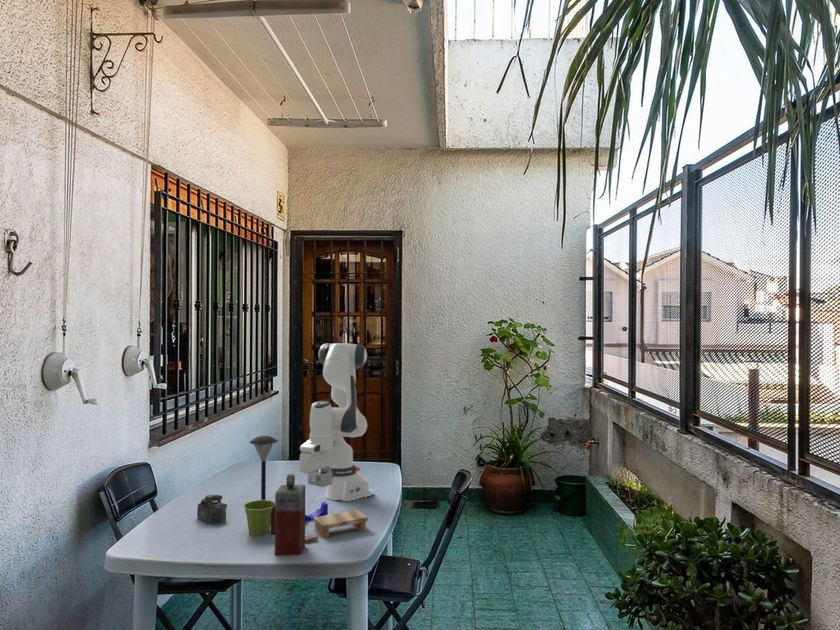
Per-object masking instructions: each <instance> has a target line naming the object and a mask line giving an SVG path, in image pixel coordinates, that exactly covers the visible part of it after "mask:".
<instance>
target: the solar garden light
mask: <svg viewBox="0 0 840 630" xmlns="http://www.w3.org/2000/svg"><path fill="white" fill-rule="evenodd" d="M278 442H279V440H278V439H276V438H274V437H273V436H270V435H261V436H256V437H255V438H252V439H251V440H249V442H248V443H249V444H251V445H254V448H255V450H256V452H257V455H258V457H259V459H260V460H261V474H260V475H261V476H260V477H261V479H260V482H261V484H260V485H261V489H260V491H261V492H260V493H261V494H260V495H261V496H260V498H261V499H260V500H266V491H267V490H266V488H267V487H266V485H267V483H266V479H267V477H266V475H267V473H266V469H267V468H266V467H267V465H266V462H267V458H268V456H269V454H270V451H271V449H272V447H273V445H274V444H275V443H278Z"/></svg>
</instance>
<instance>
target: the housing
mask: <svg viewBox="0 0 840 630" xmlns="http://www.w3.org/2000/svg"><path fill="white" fill-rule="evenodd" d="M315 474H316V476H317V477H318V481H317V482H313V481H312V476H311V474H310V473H307V484H308V485H312V486H316V487H321V488H325V487H327V486H328V485H331V484H332V471H328V470H327V469H326V468H322V469H319V470H316V473H315Z"/></svg>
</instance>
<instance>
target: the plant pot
mask: <svg viewBox="0 0 840 630" xmlns="http://www.w3.org/2000/svg"><path fill="white" fill-rule="evenodd" d="M274 504H275V501H274V500H273V501H272V500H267V499H265V500H261V499H258V500H252V501H248V502H246V503H244V504H243V508H244V509H245V511H244V512H245V514H246V521H247V528H248V529H247V530H248V534H249V535H251V536H261V535H266V534H268V533H269V532H270V531H271V511H272V508H273V506H274Z"/></svg>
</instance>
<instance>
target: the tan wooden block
mask: <svg viewBox="0 0 840 630" xmlns="http://www.w3.org/2000/svg"><path fill="white" fill-rule="evenodd" d="M317 541H319V537H318V535H316V534H310V535H305V544H308V543H312V542H317Z"/></svg>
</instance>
